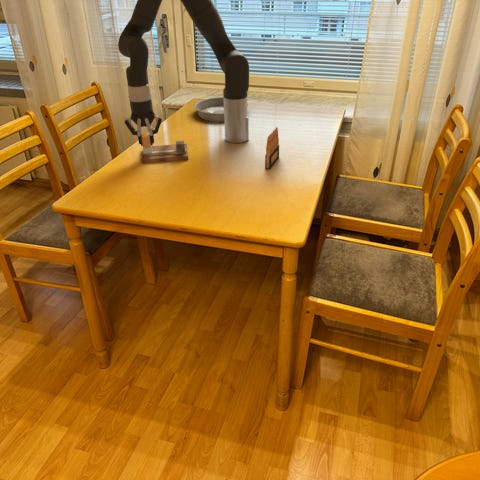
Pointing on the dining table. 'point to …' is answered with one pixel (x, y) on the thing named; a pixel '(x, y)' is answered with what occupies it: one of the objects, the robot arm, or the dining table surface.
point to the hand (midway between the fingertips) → (146, 144)
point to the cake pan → (208, 103)
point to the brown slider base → (166, 153)
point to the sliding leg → (146, 144)
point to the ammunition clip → (272, 149)
